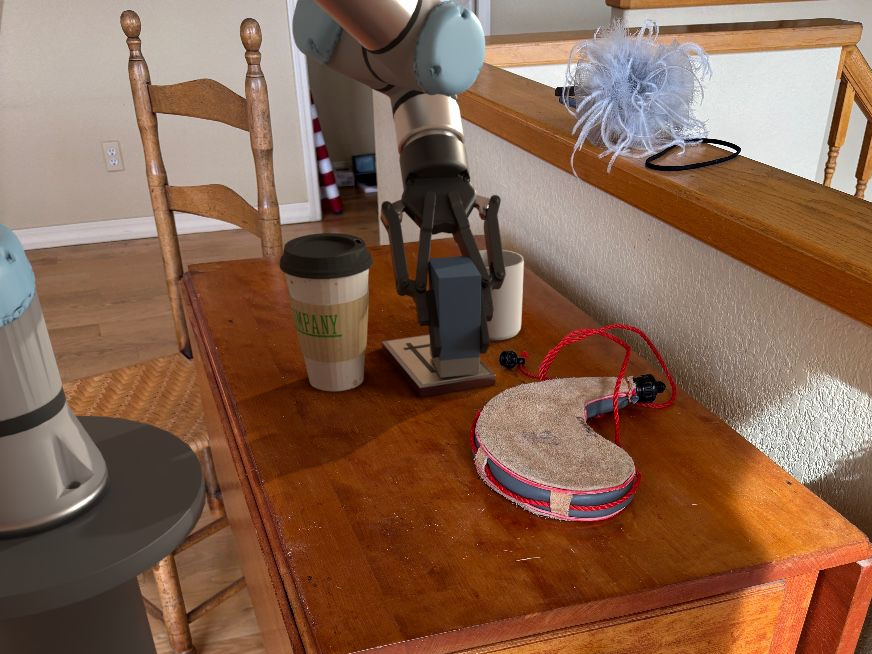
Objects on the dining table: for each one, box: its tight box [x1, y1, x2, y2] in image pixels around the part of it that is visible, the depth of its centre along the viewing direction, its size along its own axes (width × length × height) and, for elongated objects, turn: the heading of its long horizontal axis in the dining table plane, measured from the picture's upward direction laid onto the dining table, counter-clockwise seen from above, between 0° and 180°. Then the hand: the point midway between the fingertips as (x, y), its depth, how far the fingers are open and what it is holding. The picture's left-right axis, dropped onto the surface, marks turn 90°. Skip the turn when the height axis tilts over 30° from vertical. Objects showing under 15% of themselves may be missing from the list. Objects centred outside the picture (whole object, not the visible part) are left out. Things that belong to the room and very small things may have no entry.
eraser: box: [427, 255, 481, 377], centre depth 102 cm, size 4×6×11 cm
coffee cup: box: [279, 232, 374, 392], centre depth 101 cm, size 10×10×15 cm
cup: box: [479, 249, 525, 341], centre depth 116 cm, size 7×10×9 cm
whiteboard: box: [381, 334, 496, 398], centre depth 108 cm, size 9×14×1 cm, turn 21°
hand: (460, 350), depth 101 cm, fingers closed on eraser, 4 cm apart
